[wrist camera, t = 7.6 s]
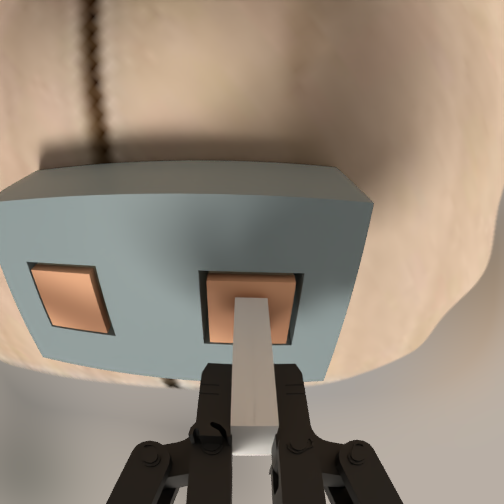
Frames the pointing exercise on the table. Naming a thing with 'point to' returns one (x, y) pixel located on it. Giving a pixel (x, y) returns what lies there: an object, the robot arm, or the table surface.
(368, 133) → the table surface
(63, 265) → the peg
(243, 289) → the peg
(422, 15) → the table surface
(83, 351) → the socket block
